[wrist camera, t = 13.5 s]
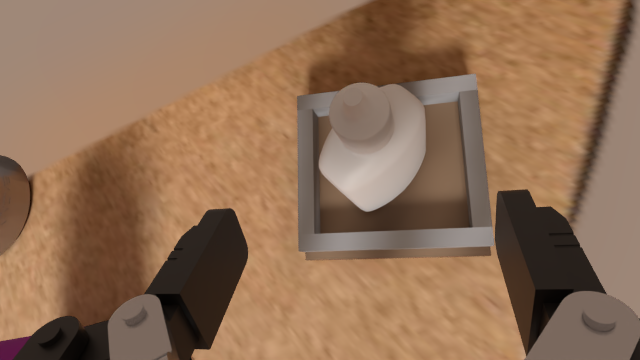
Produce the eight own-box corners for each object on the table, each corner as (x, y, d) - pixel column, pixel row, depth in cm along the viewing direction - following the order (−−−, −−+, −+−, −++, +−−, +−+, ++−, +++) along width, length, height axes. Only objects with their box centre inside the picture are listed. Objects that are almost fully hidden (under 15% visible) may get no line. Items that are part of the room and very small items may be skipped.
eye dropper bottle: (333, 155, 27) (265, 73, 15) (416, 125, 26) (408, 14, 14) (353, 218, 26) (295, 180, 14) (441, 189, 25) (454, 123, 13)
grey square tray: (310, 260, 27) (298, 259, 24) (308, 104, 29) (297, 88, 27) (488, 255, 24) (495, 254, 22) (470, 85, 27) (474, 65, 24)
